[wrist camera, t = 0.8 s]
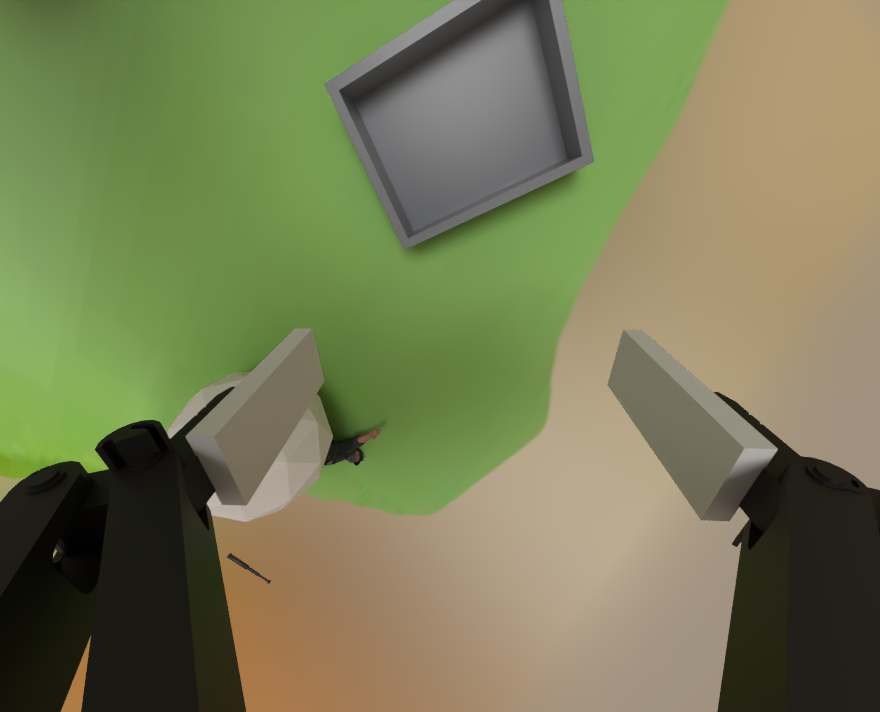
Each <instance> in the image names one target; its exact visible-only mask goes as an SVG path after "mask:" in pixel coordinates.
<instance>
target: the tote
mask: <svg viewBox="0 0 880 712" xmlns="http://www.w3.org/2000/svg"><path fill="white" fill-rule="evenodd" d="M325 86H326V88H327V91H328V93H329V95H330V97H331V99H332V101H333V103H334V105H335V107H336V109H337V111H338V113H339V115H340V118H341V120H342V122H343V124H344V126H345V128H346V130H347V132H348V134H349V136H350V138H351V140H352V142H353V145H354V147H355V149H356V151H357V153H358V155H359V157H360V159H361V161H362V163H363V165H364V167H365V169H366V172H367V174H368V176H369V178H370V180H371V182H372V184H373V186H374V188H375V190H376V192H377V194H378V197H379V199H380V201H381V203H382V205H383V207H384V209H385V211H386V213H387V215H388V217H389V219H390V221H391V224H392V226H393V228H394V230H395V232H396V234H397V236H398V238H399V240H400V242H401V244H402V246H403V248H404V250H405V249H408V248H410V247H412V246H414V245H416V244H418V243H421V242H423V241H425V240H427V239H429V238H431V237H433V236H436V235H438V234H440V233H442V232H444V231H446V230H449V229H451V228H453V227H455V226H457V225H459V224H461V223H464V222H466V221H468V220H470V219H472V218H474V217H476V216H479V215H481V214H483V213H485V212H487V211H489V210H492V209H494V208H496V207H498V206H500V205H502V204H504V203H507V202H509V201H511V200H513V199H515V198H517V197H519V196H522V195H524V194H526V193H528V192H530V191H532V190H535V189H537V188H539V187H541V186H543V185H545V184H547V183H550V182H552V181H554V180H556V179H558V178H560V177H563V176H565V175H567V174H569V173H571V172H573V171H575V170H578V169H580V168H582V167H584V166H586V165H588V164H590V163H593V162H594V158H593V153H592V148H591V143H590V138H589V133H588V128H587V123H586V118H585V113H584V108H583V103H582V98H581V92H580V87H579V82H578V77H577V72H576V67H575V62H574V57H573V52H572V47H571V42H570V37H569V32H568V27H567V22H566V16H565V11H564V6H563V1H562V0H454V1H452V2H451V3H449V4H447V5H446V6H444V7H443V8H441V9H440V10H438V11H437V12H435V13H434V14H432V15H430V16H429V17H427V18H426V19H424V20H423V21H421V22H420V23H418V24H416V25H415V26H413V27H412V28H410V29H409V30H407V31H406V32H404V33H403V34H401V35H399V36H398V37H396V38H395V39H393V40H392V41H390V42H389V43H387V44H386V45H384V46H382V47H381V48H379V49H378V50H376V51H375V52H373V53H372V54H370V55H368V56H367V57H365V58H364V59H362V60H361V61H359V62H358V63H356V64H355V65H353V66H351V67H350V68H348V69H347V70H345V71H344V72H342V73H341V74H339V75H338V76H336V77H334V78H333V79H331V80H330V81H328V82H327V83H325Z"/></svg>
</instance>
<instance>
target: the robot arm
mask: <svg viewBox="0 0 880 712" xmlns="http://www.w3.org/2000/svg"><path fill="white" fill-rule="evenodd" d="M323 383H324V377H323V372H322V368H321V364H320V359H319V355H318V351H317V346H316V342H315V338H314V333H313V329H312V328H295V329H294V330H293V331H292V332H291V333H290V334H289V335H288V336H287V337H286V338H285V339H284V340H283V341H282V342H281V343H280V344H279V345H278V346H277V347H276V348H275V349H274V350H273V351H272V352H271V353H270V354H269V355H268V356H267V357H266V358H264V359H263V360H262V361H261V362H260V363H259V364H258V365H257V366H256V367H255V368H254V369H253V370H252V371H251V372H250V373H249V374H248V375H247V376H246V377H245V378H244V379H243V380H242V381H241V382H240V383H239V384H238V385H237V386H236V387H230V388H228V389H226V390H225V391H223V392H221V393H219V394H218V395H216V396H215V397H214V398H213V399H212V400H211V401H210V402H209V403H208V404H207V405H206V407H203V408H202V409H201V410H200V411H199V412H198V413H197V415H195V416H194V417H193V418H192V419H191V420H190V421H189V422H188V423H186V424H185V425H184V426H183V427H182V428H181V429H180V430H179V431H178V432H177V433H176V434H175V435H174V436H173V437H172V438H169V437H168V435H167V433H166V431H165V430H164V428H163V426H162V424H161V423H160V422H159V421H155V420H144V421H139V422H135V423H131V424H129V425H126V426H124V427H121V428H119V429H117V430H116V431H114V432H112V433H110V434H109V435H107V436H106V437H105V438H104V439H102V440H101V441H100V442H99V443H98V445H97V447H96V448H95V450H96V452H97V453H98V454H99V456H100V457H101V458H102V460H103V461H104V463H105V464H106V465H107V467H108V468H109V469H108V470H103V471H98V472H93V473H89V474H88V473H87V471H86V470H85V469H84V468H83V466H82V465H81V464H80V463H79V462H75V461H68V462H62V463H58V464H55V465H52V466H48V467H45V468H42V469H40V470H38V471H36V472H34V473H32V474H31V475H29V476H28V477H27V478H25V479H23V480H22V481H20V482H19V483H18V484H17V485H16V486H15V487H13V488H12V489H11V490H10V491H9V492H8V494H7V495H6V496H5V497H4V499H3V500H2V501H1V502H0V712H61V709H62V707H63V704H64V701H65V699H66V697H67V694H68V691H69V689H70V687H71V684H72V681H73V679H74V676H75V674H76V671H77V669H78V666H79V664H80V661H81V658H82V656H83V654H84V651H85V648H86V646H87V643H88V641H89V638H90V636H91V641H90V649H89V657H88V664H87V672H86V680H85V687H84V695H83V703H82V710H81V712H246V708H245V703H244V697H243V691H242V685H241V680H240V674H239V668H238V662H237V657H236V651H235V645H234V640H233V634H232V629H231V623H230V617H229V611H228V606H227V601H226V595H225V589H224V583H223V578H222V572H221V567H220V560H219V555H218V550H217V543H216V538H215V533H214V527H213V521H212V515H211V510H210V508H209V507H208V505H207V502H208V500H209V499H210V498H211V496H212V495H213V494H214V492H215V493H216V495H217V496H218V498H219V500H220V502H221V504H222V505H242V506H247V504H248V503H249V501H250V500H251V498H252V496H253V495H254V493H255V492H256V490H257V488H258V487H259V485H260V484H261V482H262V480H263V479H264V477H265V476H266V474H267V472H268V471H269V469H270V468H271V466H272V464H273V463H274V461H275V460H276V458H277V456H278V455H279V453H280V452H281V450H282V448H283V447H284V445H285V444H286V442H287V440H288V439H289V437H290V436H291V434H292V432H293V431H294V429H295V428H296V426H297V424H298V423H299V421H300V420H301V418H302V416H303V415H304V413H305V412H306V410H307V409H308V407H309V405H310V404H311V402H312V401H313V399H314V397H315V396H316V394H317V393H318V391H319V389H320V388H321V386H322V385H323ZM608 386H609V387H610V389H611V390H612V392H613V393H614V395H615V396H616V398H617V399H618V401H619V402H620V403H621V405H622V406H623V408H624V409H625V411H626V412H627V414H628V415H629V417H630V418H631V419H632V421H633V422H634V424H635V425H636V427H637V428H638V429H639V431H640V432H641V434H642V435H643V437H644V438H645V440H646V441H647V442H648V444H649V446H650V447H651V448H652V450H653V451H654V453H655V454H656V456H657V457H658V459H659V460H660V461H661V463H662V464H663V466H664V467H665V469H666V470H667V472H668V473H669V474H670V476H671V477H672V479H673V480H674V482H675V483H676V484H677V486H678V488H679V489H680V490H681V492H682V493H683V495H684V496H685V498H686V499H687V500H688V502H689V503H690V505H691V506H692V508H693V509H694V511H695V512H696V514H697V515H698V516H699V518H700V519H701V520H713V521H730V520H731V518H732V517H733V515H734V514H735V512H736V511H737V509H738V508H739V506H740V508H741V509H742V510H743V511H744V512H745V514H746V515H747V516H748V517H749V518H750V519H749V520H748V522H747V523H746V525H745V526H744V527H743V529H742V530H741V531H740V533H739V535H738V536H737V537H736V538H735V540H734V541H733V543H732V545H734V546H736V547H737V546H738V545H739V543H740V542H742V544H741V551H740V557H739V564H738V571H737V578H736V585H735V593H734V600H733V607H732V614H731V621H730V628H729V635H728V642H727V649H726V656H725V663H724V671H723V677H722V684H721V691H720V698H719V705H718V712H880V490H877V489H872V488H868V487H866V486H865V485H864V484H863V483H862V482H861V481H860V480H859V479H857V478H856V477H855V476H854V475H852V474H850V473H849V472H847V471H845V470H844V469H842V468H840V467H838V466H835V465H833V464H831V463H829V462H826V461H823V460H819V459H815V458H811V457H801V456H800V455H798V454H797V453H796V452H795V451H793V450H792V449H791V448H790V447H789V446H788V445H786V444H785V443H784V442H783V441H782V440H780V439H779V438H778V437H777V436H776V435H775V434H773V433H772V432H771V431H770V430H768V429H767V428H766V427H765V426H764V425H761V424H760V422H759V421H758V420H757V419H755V418H754V417H753V416H752V415H749V413H748V412H747V411H746V410H744V408H742V407H741V406H740V405H739V404H738V403H737V402H735V401H733V400H731V399H730V398H728V397H726V396H724V395H722V394H720V393H719V392H712V391H711V390H710V389H709V388H708V387H707V386H706V385H705V384H703V383H702V382H701V381H700V380H699V379H698V378H696V377H695V376H694V375H693V374H692V373H691V372H689V370H687V369H686V368H685V367H684V366H683V365H682V364H681V363H680V362H678V361H677V360H676V359H675V358H674V357H673V356H672V355H670V354H669V353H668V352H667V351H666V350H665V349H664V348H662V347H661V346H660V345H659V344H658V343H657V342H656V341H654V340H653V339H652V338H651V337H650V336H649V335H648V334H646V333H645V332H644V331H643V330H623V332H622V336H621V339H620V343H619V346H618V350H617V353H616V357H615V360H614V364H613V367H612V371H611V374H610V378H609V381H608ZM55 549H56V550H57V553H56V555H55V556H54V558H53V552H54V550H55ZM91 633H92V634H91Z"/></svg>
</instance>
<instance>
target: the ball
mask: <svg viewBox="0 0 880 712" xmlns="http://www.w3.org/2000/svg"><path fill="white" fill-rule="evenodd" d="M249 373H250V372H233V373H231V374H229V375H227V376H225V377H224V378H222V379H220V380H218V381H216V382H214V383H212V384H210V385H208V386H206V387H204V388H202V389H201V390H200V391H199V392H198V393H196V394H195V395H194V396H193V397H192V398H191V399H190V400H189V401H188V402H187V404H186V405H185V407H184V408H183V409H182V411H181V412H180V414H179V415H178V416H177V418H176V419H175V421H174V422H173V423H172V425H171V426H170V428H169V429H168V437H169V438H172V437H173V436H174V435H175V434H176V433H177V432H178V431H179V430H180V429H181V428H182V427H183V426H184V425H185V424H186V423H188V422H189V421H190V420H191V419H192V418H193V417H194V416H195V415H197V413H198V412H199V411H200V410H201V409H202V408H203V407H206V405H207V404H208V403H209V402H210V401H211V400H212V399H213V398H214V397H215V396H216V395H218V394H219V393H221V392H223V391H225V390H226V389H228V388H230V387H236V386H237V385H238V384H239V383H240V382H241V381H242V380H243V379H244V378H245V377H246V376H247V375H248V374H249ZM378 431H379V432H378ZM379 434H380V429H379V428H378V429H376V430H374V431H372V432H371V433H370V434H366V435H363V436H362V435H358V436H356V437H354V438H352V439H350V440H346V441H335V440H332V438H333V435H332V432H331V429H330V426H329V423H328V420H327V417H326V414H325V411H324V408H323V405H322V402H321V399H320V396H318V395H317V394H316V396H315V397H314V399H313V401H312V402H311V404H310V405H309V407H308V409H307V410H306V412H305V413H304V415H303V416H302V418H301V420H300V421H299V423H298V424H297V426H296V428H295V429H294V431H293V432H292V434H291V436H290V437H289V439H288V440H287V442H286V444H285V445H284V447H283V448H282V450H281V452H280V453H279V455H278V456H277V458H276V460H275V461H274V463H273V464H272V466H271V468H270V469H269V471H268V472H267V474H266V476H265V477H264V479H263V480H262V482H261V484H260V485H259V487H258V488H257V490H256V492H255V493H254V495H253V496H252V498H251V500H250V501H249V503H248V504H247V506H242V505H222V504H221V502H220V500H219V498H218V496H217V495H216V493H215V492H214V494H213V495H212V496H211V498H210V499H209V500H208V502H207V505H208V507H209V508H210V510H211V515H214V516H219V517H224V518H229V519H234V520H239V521H244V522H246V521H250V520H253V519H256V518H259V517H262V516H265V515H268V514H271V513H274V512H277V511H280V510H281V509H283V508H284V507H285V506H286V505H288V504H289V503H290V502H291V501H292V500H294V499H295V498H296V497H298V495H300V494H301V493H302V492H304V491H305V490H306V489H307V488H309V487H310V486H311V485H312V484H314V483H315V482H316V481H317V480H319V477H320V474H321V471H322V468H323V465H330V464H335V463H337V462H338V461H341V460H342V461H343V460H344V459H345V460H348V461H349V462H351V463H354V464H355V465H356V466H357V465H359V463H360V462H361V461H363V454H362V452H361V450H360V449H357V448H358V447H360V446H362V445H363V444H364V443H365V442H366V441H367V440H369V439H371V438H372V439H375V437H376V436H377V435H379ZM227 558H229V559H231V560H232V561H234V562H235V563H237V564H238V565H240V566H241V567H243V568H245V569H248V570H249V571H251V572H252V573H254V574H255V575H257V576H259V577H261V578H263V579H264V580H265V581H267V583H268V584H269V583H270V580H267V579H266V578H264V577H262V576H261V575H260V574H259V573H257V572H256V571H255V570H253V569H252V568H250V567H249V566H248V565H247V564H246V563H244V562H243V561H241V560H240V559H238V558H237V557H235V556H234V555H232V554H229V555H228V557H227Z"/></svg>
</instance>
